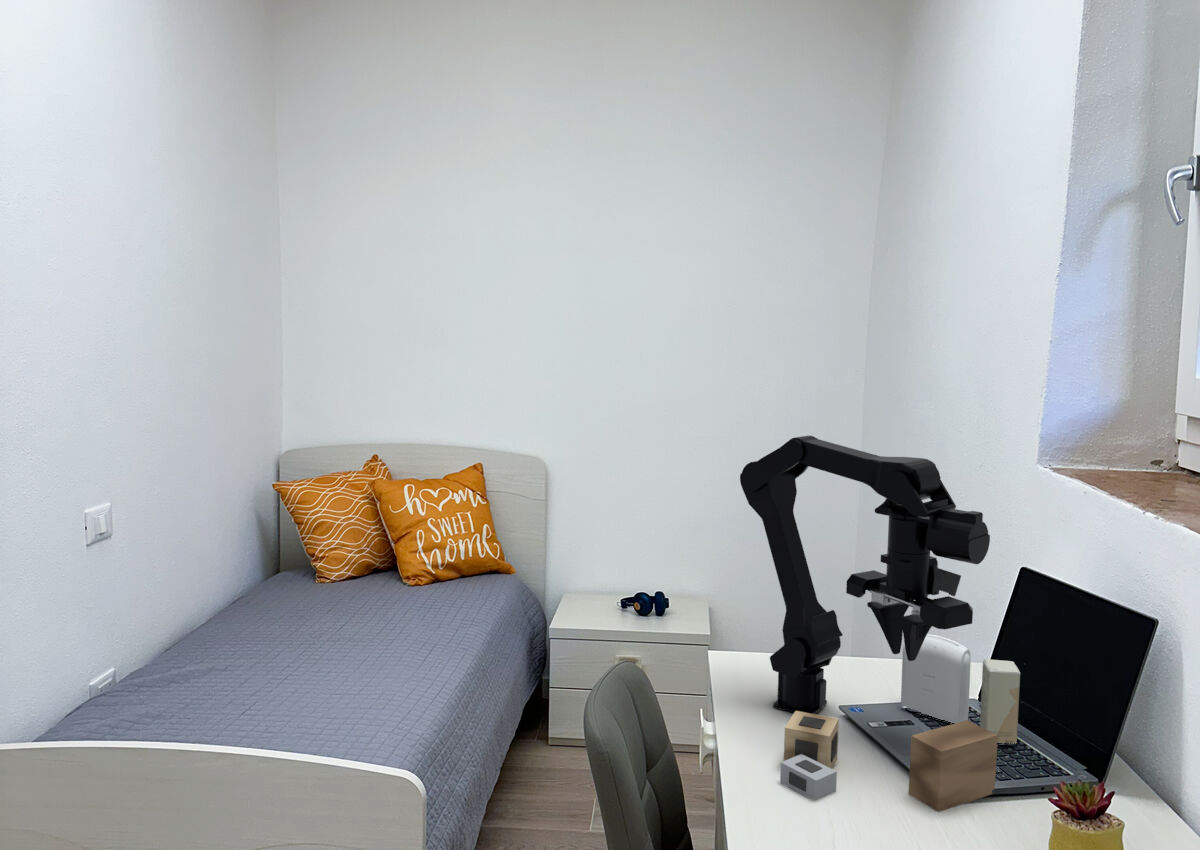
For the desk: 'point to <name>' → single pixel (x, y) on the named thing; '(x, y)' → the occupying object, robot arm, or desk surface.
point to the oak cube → (812, 738)
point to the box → (1000, 699)
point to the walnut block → (952, 765)
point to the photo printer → (938, 679)
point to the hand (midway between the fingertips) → (903, 657)
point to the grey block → (808, 777)
